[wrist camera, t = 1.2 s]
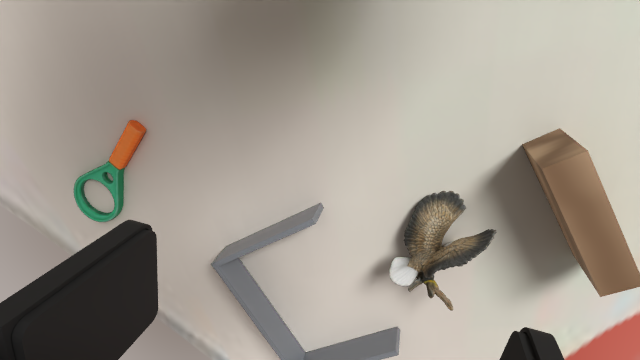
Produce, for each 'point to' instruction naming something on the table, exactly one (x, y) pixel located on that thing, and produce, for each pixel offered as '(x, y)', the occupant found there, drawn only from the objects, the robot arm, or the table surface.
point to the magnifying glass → (115, 168)
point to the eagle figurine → (435, 244)
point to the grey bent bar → (350, 356)
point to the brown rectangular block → (583, 211)
